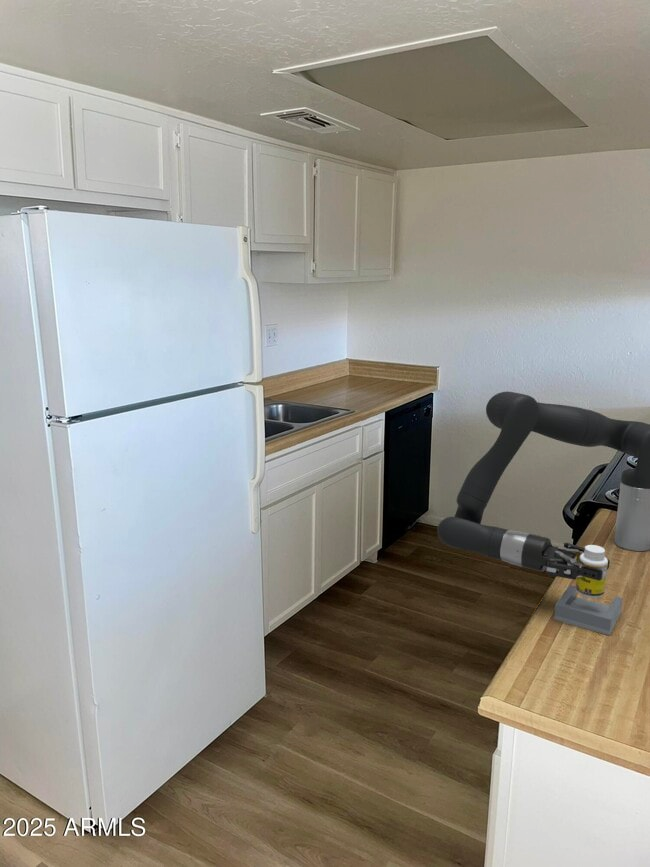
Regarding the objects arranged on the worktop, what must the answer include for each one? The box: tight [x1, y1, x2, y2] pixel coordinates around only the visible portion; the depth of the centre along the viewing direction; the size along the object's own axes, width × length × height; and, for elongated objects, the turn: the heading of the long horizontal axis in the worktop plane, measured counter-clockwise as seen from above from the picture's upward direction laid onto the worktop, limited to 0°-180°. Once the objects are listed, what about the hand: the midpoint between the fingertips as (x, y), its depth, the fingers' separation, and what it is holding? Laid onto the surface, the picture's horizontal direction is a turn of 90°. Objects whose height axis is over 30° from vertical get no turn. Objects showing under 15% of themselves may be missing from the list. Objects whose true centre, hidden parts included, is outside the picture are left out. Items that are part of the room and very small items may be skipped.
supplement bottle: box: [575, 544, 608, 599], centre depth 138 cm, size 6×6×10 cm
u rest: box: [553, 584, 623, 636], centre depth 140 cm, size 11×11×4 cm
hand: (605, 570), depth 137 cm, fingers closed on supplement bottle, 5 cm apart
